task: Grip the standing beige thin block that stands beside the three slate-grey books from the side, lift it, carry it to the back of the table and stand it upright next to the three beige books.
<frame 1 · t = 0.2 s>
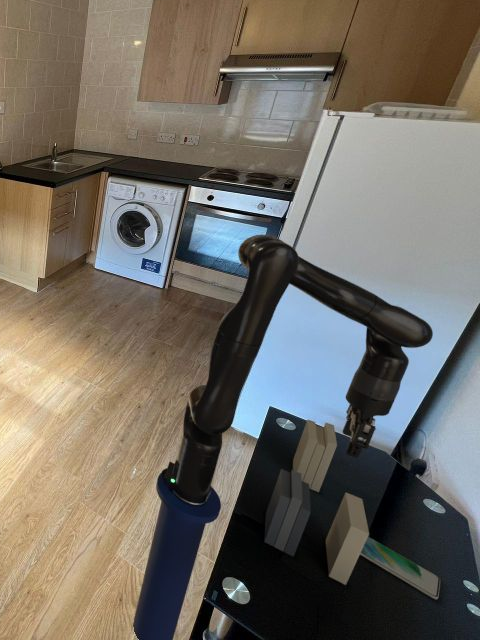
hand: (349, 444, 99), 26 cm above the table, tool pointing down, fingers open, 8 cm apart
smartphone: (392, 564, 97), on the table
beige books: (305, 475, 121), on the table
beige thin block: (335, 561, 97), on the table
grey books: (278, 534, 103), on the table
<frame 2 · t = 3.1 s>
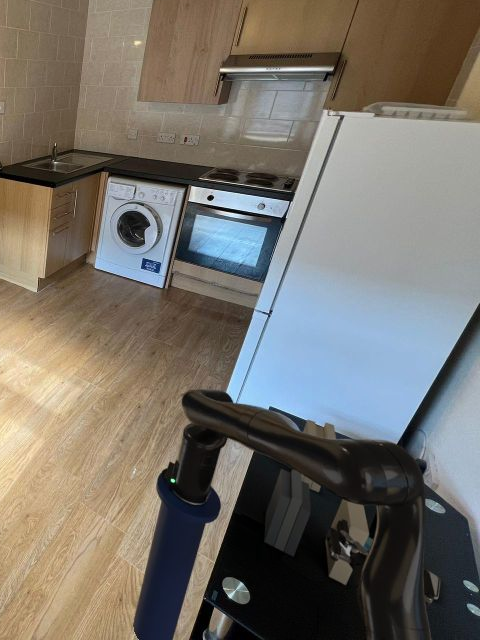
hand: (370, 534, 83), 20 cm above the table, tool horizontal, fingers open, 8 cm apart
nothing on the table moved.
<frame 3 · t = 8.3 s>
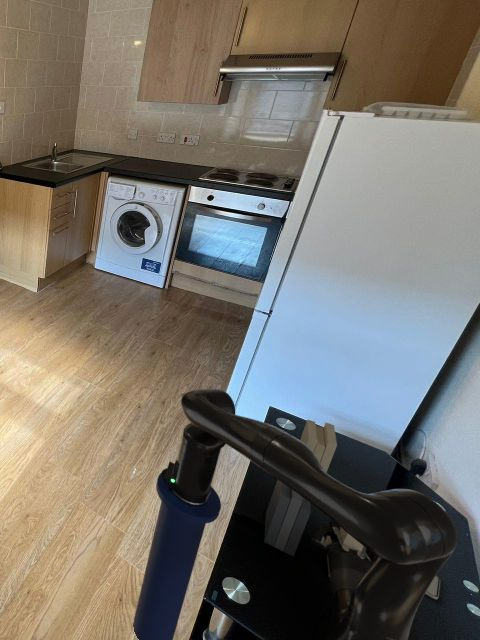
hand: (345, 525, 97), 9 cm above the table, tool horizontal, fingers closed on beige thin block, 3 cm apart
beige thin block: (335, 561, 97), on the table, touching gripper
everything else where it was.
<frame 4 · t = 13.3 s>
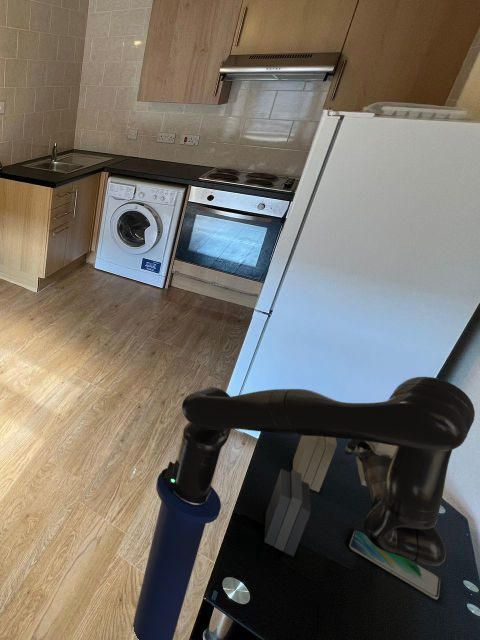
hand: (376, 439, 104), 24 cm above the table, tool horizontal, fingers closed on beige thin block, 3 cm apart
beige thin block: (366, 473, 104), point 15 cm above the table, touching gripper
everything else where it was.
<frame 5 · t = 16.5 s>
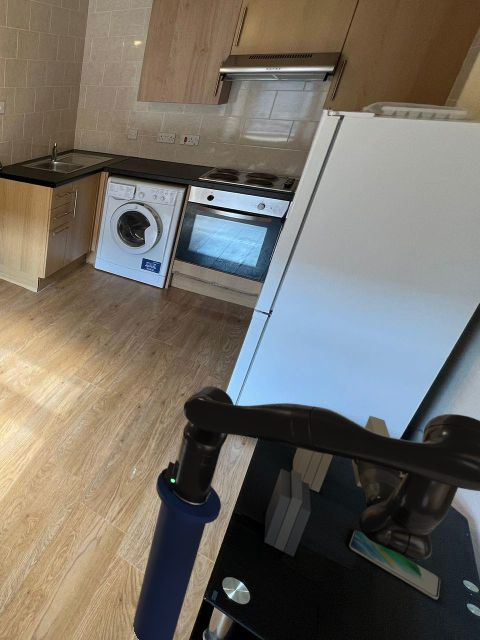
hand: (370, 443, 112), 16 cm above the table, tool horizontal, fingers closed on beige thin block, 3 cm apart
beige thin block: (361, 475, 113), point 7 cm above the table, touching gripper
everything else where it was.
when the fingers open (9 cm above the table, at t = 18.8 s): beige thin block stays where it is, on the table.
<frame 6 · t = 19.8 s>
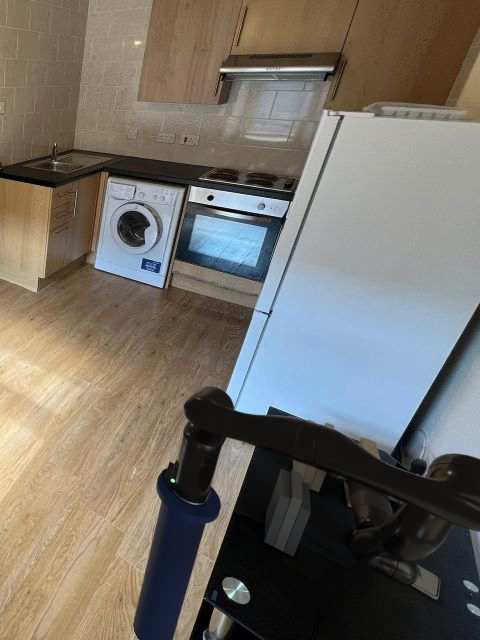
hand: (361, 464, 114), 10 cm above the table, tool horizontal, fingers open, 8 cm apart
beige thin block: (352, 495, 115), on the table
everything else where it was.
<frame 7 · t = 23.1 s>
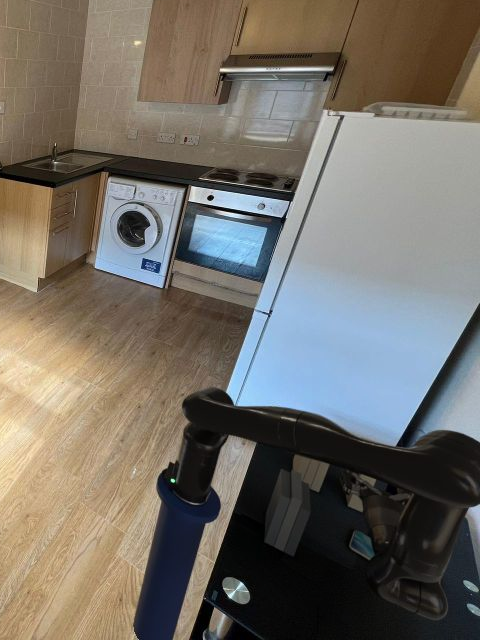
hand: (376, 476, 102), 16 cm above the table, tool horizontal, fingers open, 8 cm apart
nothing on the table moved.
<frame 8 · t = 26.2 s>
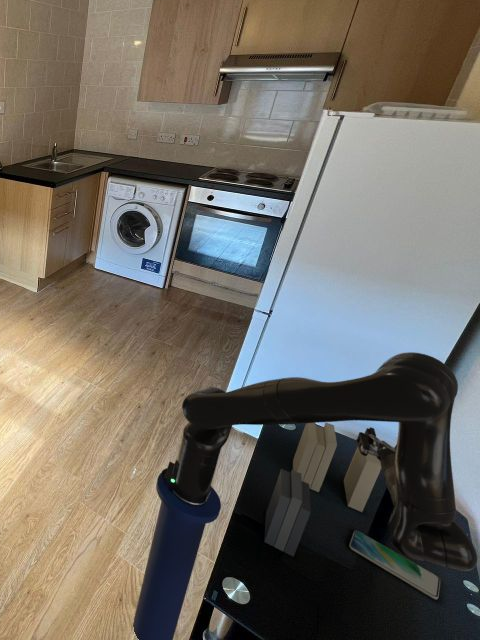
hand: (394, 438, 98), 28 cm above the table, tool horizontal, fingers open, 8 cm apart
nothing on the table moved.
at the end: beige thin block 0.1 cm from the target spot on the table beside the beige books, on the table; beige thin block tilted 0°; the gripper is holding nothing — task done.
